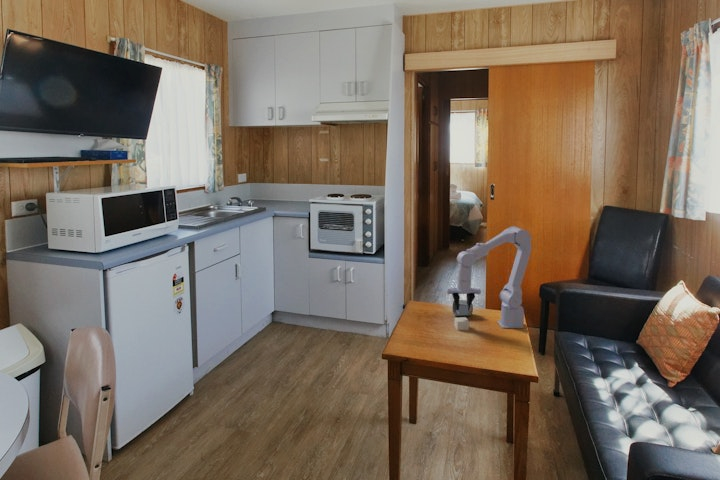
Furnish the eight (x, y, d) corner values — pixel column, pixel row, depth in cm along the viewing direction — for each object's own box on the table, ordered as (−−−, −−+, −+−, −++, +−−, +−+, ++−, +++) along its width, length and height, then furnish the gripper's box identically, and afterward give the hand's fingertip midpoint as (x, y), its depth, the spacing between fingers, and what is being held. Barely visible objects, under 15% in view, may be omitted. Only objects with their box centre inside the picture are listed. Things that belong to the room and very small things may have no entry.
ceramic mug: (473, 318, 235) (474, 302, 234) (455, 318, 235) (456, 302, 233) (466, 310, 246) (467, 295, 244) (449, 310, 245) (450, 295, 244)
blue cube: (465, 311, 224) (466, 302, 223) (467, 314, 220) (468, 305, 219) (456, 311, 224) (457, 302, 223) (458, 314, 220) (459, 305, 219)
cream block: (465, 325, 226) (465, 317, 225) (468, 330, 221) (469, 321, 220) (454, 326, 225) (454, 317, 225) (457, 330, 221) (457, 321, 220)
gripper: (478, 277, 223) (476, 306, 226) (445, 276, 222) (444, 306, 225) (482, 281, 216) (480, 312, 219) (449, 281, 215) (447, 312, 218)
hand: (462, 309), depth 221 cm, fingers closed on blue cube, 4 cm apart
